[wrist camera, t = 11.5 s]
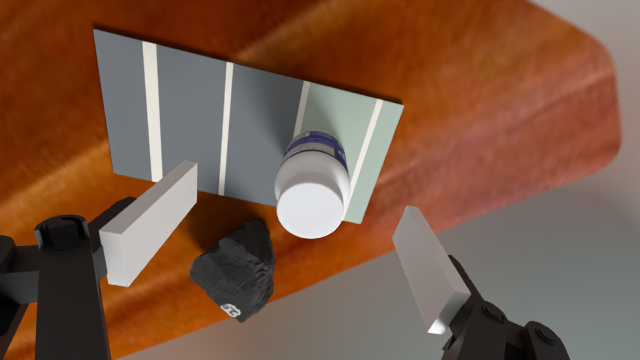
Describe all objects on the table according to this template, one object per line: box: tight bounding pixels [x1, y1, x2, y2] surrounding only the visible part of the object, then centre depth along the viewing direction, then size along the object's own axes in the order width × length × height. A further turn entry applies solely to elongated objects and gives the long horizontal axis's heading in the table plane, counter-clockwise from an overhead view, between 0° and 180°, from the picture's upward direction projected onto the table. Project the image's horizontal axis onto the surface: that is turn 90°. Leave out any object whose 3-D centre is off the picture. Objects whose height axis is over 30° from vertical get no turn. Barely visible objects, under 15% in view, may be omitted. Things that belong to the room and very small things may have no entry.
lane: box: [93, 29, 404, 224], centre depth 23 cm, size 24×12×1 cm, turn 77°
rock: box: [190, 220, 275, 323], centre depth 27 cm, size 10×9×6 cm
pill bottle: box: [274, 129, 351, 238], centre depth 19 cm, size 5×5×9 cm
